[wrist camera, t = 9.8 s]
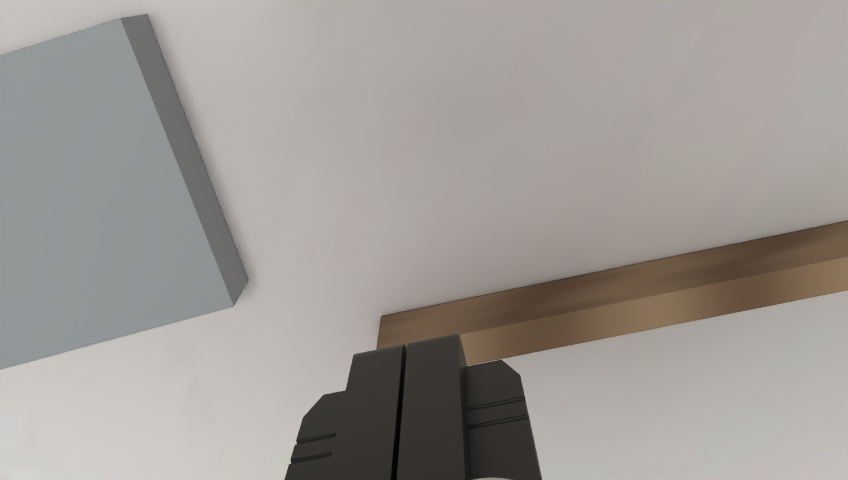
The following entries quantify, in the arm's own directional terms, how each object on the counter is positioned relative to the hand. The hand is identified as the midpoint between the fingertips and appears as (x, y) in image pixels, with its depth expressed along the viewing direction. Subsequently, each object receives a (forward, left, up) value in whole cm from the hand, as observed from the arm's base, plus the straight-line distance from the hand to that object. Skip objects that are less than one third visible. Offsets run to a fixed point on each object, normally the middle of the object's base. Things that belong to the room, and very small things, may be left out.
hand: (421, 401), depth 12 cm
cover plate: (+16, -1, -19) cm, 24 cm away
